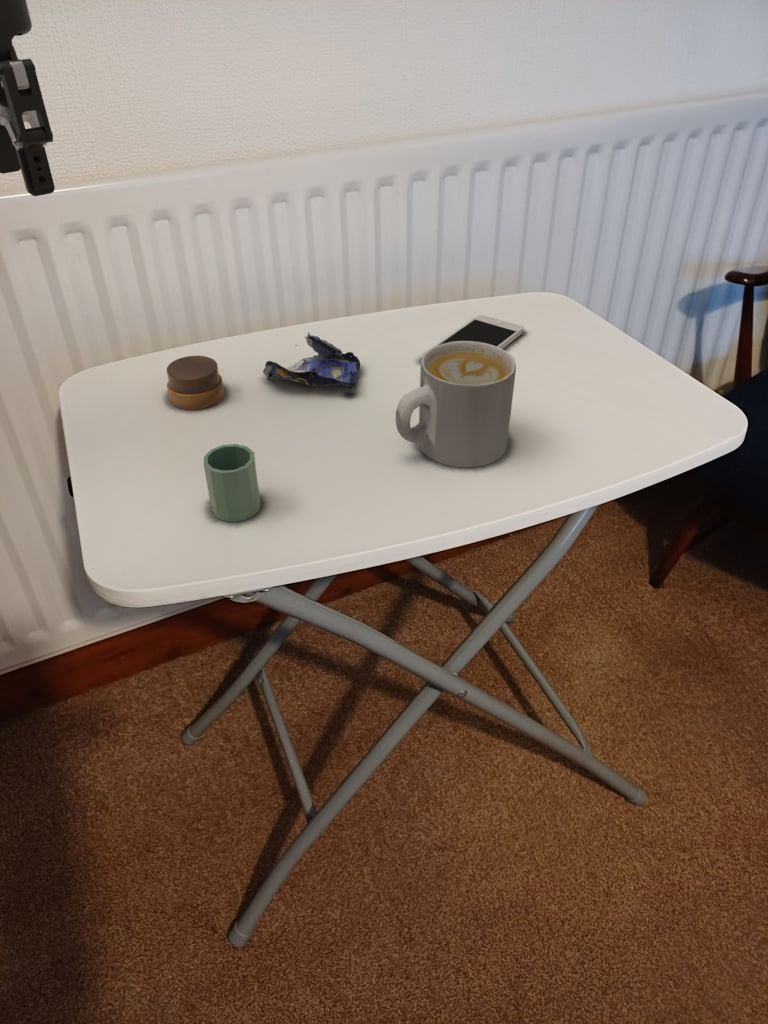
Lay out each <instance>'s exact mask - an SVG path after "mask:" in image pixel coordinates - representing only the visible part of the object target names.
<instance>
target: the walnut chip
mask: <svg viewBox="0 0 768 1024" xmlns="http://www.w3.org/2000/svg"><path fill="white" fill-rule="evenodd" d="M219 372H220V371H219V367H218V362H217V361H216V360H215V359H213V358H212V357H209V356H206V355H189V356H183V357H180V358H177V359H175V360H173V361H172V362H170V363H169V364H168V366H167V367H166V374H167V375H166V376H167V382H168V381H169V386H170V388H171V389H172V390H174V391H176V392H178V393H183V394H197V393H202V392H206V391H208V390H211V389H212V388H214V387H215V386H216V385H217V384H218V383H219V380H220V379H219V375H220V373H219Z"/></svg>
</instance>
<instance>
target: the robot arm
mask: <svg viewBox="0 0 768 1024" xmlns="http://www.w3.org/2000/svg"><path fill="white" fill-rule="evenodd" d="M28 7H29V6H28V3H27V0H0V174H10V173H16V172H20V171H21V175H22V178H23V179H22V180H23V182H24V186H25V189H26V191H27V193H29V194H30V195H31V196H33V197H40V196H44V195H50V194H53V193H54V191H55V189H56V187H55V183H54V180H53V174H52V171H51V167H50V163H49V160H48V155H47V150H46V148H45V147H46V146H48V143H53V142H54V134H53V131H52V128H51V124H50V120H49V116H48V113H47V110H46V105H45V102H44V98H43V94H42V90H41V87H40V86H41V85H40V83H39V79H38V75H37V71H36V65H35V64H34V62H33V60H32V59H31V58H25V59H20V58H18V55H17V52H16V48H15V46H14V45H13V39H14V38H15V37H21V36H25V35H27V34H28V33H30V31H31V30H32V26H33V24H32V20H31V16H30V11H29V8H28ZM25 123H27V124H29V126H30V128H26V126H25Z"/></svg>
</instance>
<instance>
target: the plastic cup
mask: <svg viewBox="0 0 768 1024" xmlns="http://www.w3.org/2000/svg"><path fill="white" fill-rule="evenodd" d="M203 470H204V474H205V480H206V485H207V491H208V497H209V503H210V509H211V510H212V511H211V512H212V513H213V515H214V516H215V517H216V518H217V519H219V520H221V521H223V522H229V523H230V522H231V523H235V522H243V521H246V520H249V519H251V518H252V517H254V516H255V515H256V514H257V513H258V512H259V511H260V508H261V497H260V496H261V495H260V489H259V482H258V471H257V466H256V457H255V452H254V451H253V450H252V449H251V448H249V447H248V446H246V445H243V444H238V443H230V444H221V445H218V446H217V447H216V446H215V447H214V448H211V449H210V450H208V452H207V453H206V454H205V455H203Z"/></svg>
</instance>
